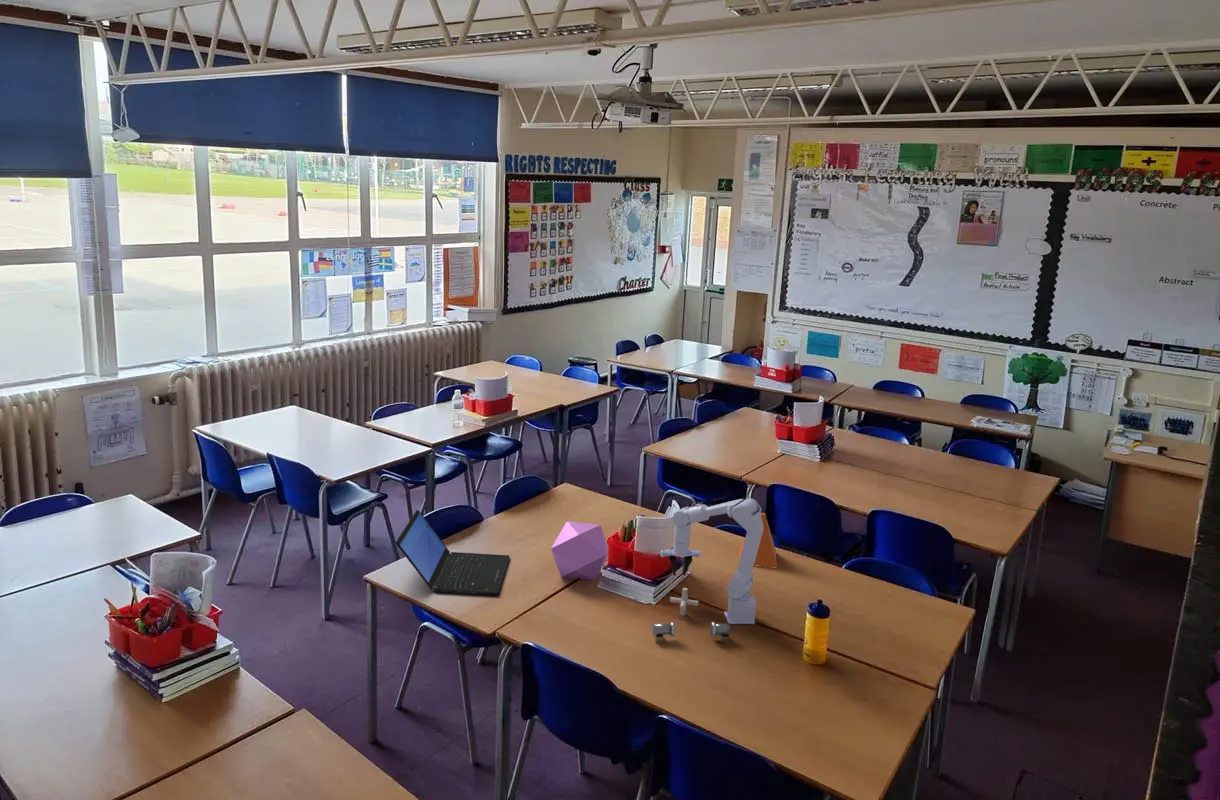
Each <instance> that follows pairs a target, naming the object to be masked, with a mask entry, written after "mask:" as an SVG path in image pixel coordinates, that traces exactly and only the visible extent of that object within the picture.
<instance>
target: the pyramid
mask: <svg viewBox="0 0 1220 800" xmlns="http://www.w3.org/2000/svg"><path fill="white" fill-rule="evenodd" d="M761 518H762V522H763V527H764V529H763V533H762V537H761V541H760V544H759V548H758V552H757V555H756V559H755V563H754V565H759V566H766V567H776V568H777V569H778V560H777V561H776V554H777V551H776V547H775V544H774V540H773V536H772V532H771V529H770V525H769V523H768V519H767V515H766V513H765V512H761ZM744 541H745V538H744V539H743V541H742V543H741V544H740V546H739V549H738V560H740V556H741V552H742V549H743V545H744ZM766 567H765V568H766Z"/></svg>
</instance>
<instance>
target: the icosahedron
mask: <svg viewBox="0 0 1220 800" xmlns="http://www.w3.org/2000/svg"><path fill="white" fill-rule="evenodd" d="M606 539H607V538H606V537H605V534H604V531H603V528H602V524H595V523H588V522H587V523H586V522H577V521H568V520H567V521H566V522H565V524H564V526H563V528H562V529H561V531H560V533H559V534H558V536H557V538H556V539H555V541H554V542H553V545H552V546H551V547H550V550H551V553H552V556H553V558H554V561H555V563H556V567H557V569H558V572H559V574H560V577H561V576H563V577H562V578H567V577H572V578H571V579H575V578H580V579H579V580H584V579H587V580H586V581H593V580H595V581H596V579H597V578H598V576H599V574H600V573H601V571H602V569H601V568H603V567H604V565H605V564H606V561H607V559H608V558H609V556H608V548H609V545H608V542H607V540H606ZM602 566H603V567H602Z"/></svg>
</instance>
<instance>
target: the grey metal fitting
mask: <svg viewBox="0 0 1220 800" xmlns="http://www.w3.org/2000/svg"><path fill="white" fill-rule="evenodd" d="M651 627H652V628H651V629H652V635H653V638H654V642H655V644H664V636H670V637H673V638H675V635H676V625H675V622H674V621H670V622H669V623H652V626H651Z"/></svg>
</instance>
